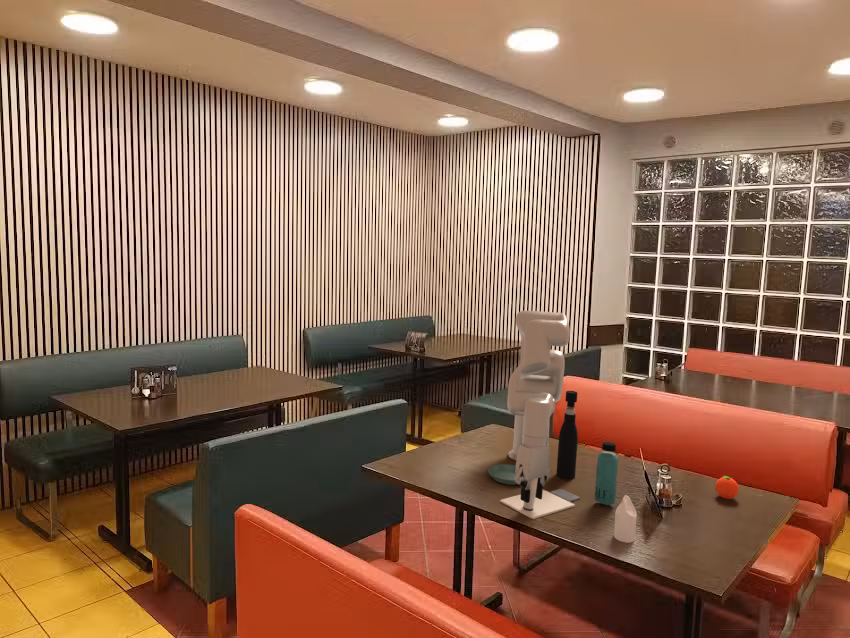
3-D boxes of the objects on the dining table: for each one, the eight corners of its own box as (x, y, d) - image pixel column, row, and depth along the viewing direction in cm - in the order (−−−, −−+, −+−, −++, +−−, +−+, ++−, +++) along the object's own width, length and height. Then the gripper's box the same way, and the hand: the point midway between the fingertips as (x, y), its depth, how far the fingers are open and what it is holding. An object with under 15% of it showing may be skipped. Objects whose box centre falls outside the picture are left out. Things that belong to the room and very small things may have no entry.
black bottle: (554, 477, 210) (560, 392, 206) (557, 471, 215) (563, 388, 212) (573, 480, 207) (580, 395, 204) (576, 474, 213) (582, 391, 210)
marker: (529, 504, 184) (535, 466, 181) (535, 510, 181) (541, 471, 178) (520, 505, 182) (526, 467, 180) (526, 511, 180) (531, 472, 177)
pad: (541, 490, 197) (541, 488, 197) (574, 506, 186) (574, 504, 186) (500, 501, 187) (500, 499, 187) (532, 519, 176) (532, 517, 176)
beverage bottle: (615, 502, 190) (620, 441, 188) (614, 511, 184) (620, 447, 182) (594, 499, 192) (598, 438, 190) (592, 507, 186) (597, 444, 184)
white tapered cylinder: (634, 502, 161) (613, 496, 165) (631, 545, 163) (610, 538, 166) (641, 495, 166) (620, 490, 169) (637, 536, 168) (617, 530, 171)
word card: (561, 490, 198) (561, 488, 198) (580, 498, 192) (580, 497, 192) (550, 493, 196) (550, 491, 196) (569, 502, 189) (569, 500, 189)
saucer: (505, 468, 217) (506, 461, 217) (540, 480, 207) (540, 473, 207) (479, 477, 207) (479, 470, 207) (513, 491, 197) (514, 483, 196)
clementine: (709, 491, 203) (711, 471, 202) (730, 493, 202) (732, 472, 202) (719, 501, 195) (721, 480, 194) (741, 503, 194) (743, 481, 194)
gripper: (546, 432, 186) (542, 489, 188) (505, 440, 176) (501, 500, 179) (564, 439, 180) (560, 498, 182) (523, 448, 170) (519, 510, 172)
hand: (531, 498), depth 180 cm, fingers open, 4 cm apart
